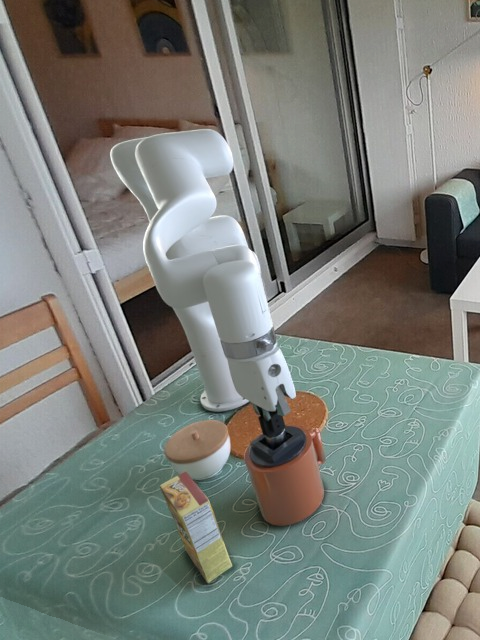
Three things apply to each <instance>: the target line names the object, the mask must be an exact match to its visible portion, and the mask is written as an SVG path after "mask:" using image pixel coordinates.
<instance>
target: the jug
mask: <svg viewBox="0 0 480 640" xmlns="http://www.w3.org/2000/svg"><path fill="white" fill-rule="evenodd" d="M284 429H285V433H286V436H287V441H286V442H285V443H283V444H282V445H281V446H279V447H278V448H277V449H275V450H274V451H273V450H272V449H270V448H268V446H267V442H266V439H265V436H264V435H263V433H260V434H259V435H258V436H256V437H255V438H254V439H253V440H252V441H250V443H249V444H248V445H247V447H246V449H245V451H244V455H243V461H244V465H245V467H246V470H247V473H248V477H249V480H250V482H251V486H252V489H253V492H254V495H255V499H256V502H257V505H258V508H259V511H260V513H261V517H262V518H263V519H264V521H266V523H269V524H270V525H273V526H278V527H285V526H286V527H287V526H291V525H294V524H298V523H300V522H302V521H304V520H305V519H307V518H308V517H310V516H311V515H312V514H314V513H315V512H316V511H317V510H318V509H319V507H320V505H322V502H323V500H324V496H325V488H324V483H323V478H322V475H321V471H320V466H322V465H323V464H325V463H326V461H327V459H326V454H325V449H324V445H323V440H322V435H321V432H320V431H321V430H320V429H319V428H318V427H313V428H311V430H310V431H309V430H308V429H307V428H305V427H303V426H301V425H297V424H285V428H284Z"/></svg>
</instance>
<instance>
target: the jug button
mask: <svg viewBox="0 0 480 640" xmlns="http://www.w3.org/2000/svg"><path fill="white" fill-rule="evenodd" d="M264 436H265V435H264ZM265 439H266V442H267V446H268V448H270V449H272V450H273V451H274V450H275V449H277V448H278V447H279V446H281V445H282V444H283V443H285V442H286V441H287V436H286V433H285V429H283V430H281V431H280V432H279V433H277V434H276V435H274V436H273V437H272V438H268V437H267V436H265Z"/></svg>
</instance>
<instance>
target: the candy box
mask: <svg viewBox="0 0 480 640" xmlns="http://www.w3.org/2000/svg"><path fill="white" fill-rule="evenodd" d="M159 489H160V491H161V493H162V496H163V498H164V501H165V503H166V505H167V508H168V511H169V513H170V515H171V519H172V520H173V522H174V525H175V527H176V530H177V532H178V534H179V537H180V539H181V542H182V544H183V546H184V549H185V552H186V553H187V554H188V556H189V558H190V559H191V561H192V562H193V564H194V566H195V567H196V568H197V570H198V571H199V573H200V574H201V576H202V577H203V578H204V580H205V582H206V583H207V584H210V583H212V582H213V581H214V580H215V579H217V578H218V577H219V576H220V575H222V574H223V573H225V572H226V571H228V570H230V569H231V568H232V567H233V564H232V561H231V558H230V555H229V552H228V550H227V547H226V544H225V541H224V538H223V534H222V532H221V530H220V527H219V524H218V521H217V518H216V516H215V512H214V510H213V507H212V504H211V502H210V500H209V498H208V497H207V495H206V494H205V493H204V492H203V490H202V489H201V488H200V487H199V486H198V484H197V483H196V482H195V480H194V479H192V478H191V477H190V475H189V474H188V473H187V471H185V472H183V473H182V474H180V475H179V474H177V475H176V476H174V477H172V478H171V479H168V480H167V481H164V482H163V483H161V484H159Z"/></svg>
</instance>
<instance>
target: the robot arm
mask: <svg viewBox="0 0 480 640" xmlns="http://www.w3.org/2000/svg"><path fill="white" fill-rule="evenodd" d="M109 155H110V156H109V157H110V161H111V165H112V166H113V168H114V171H115V172H116V174H117V176H118V178H120V181H122V183H123V184H124V185H125V187H126V188H127V189H128V190H129V191H130V193H132V195H133V196H134V197H135V198H136V199H137V200H138V201H139V203H140V205H141V206H142V207H143V210H144V212H145V214H146V216H147V219H148V222H149V223H148V225H147V227H146V231H145V233H144V236H143V240H142V241H143V243H142V251H143V256H144V260H145V262H146V266H147V268H148V271H149V273H150V276H151V279H152V280H153V283H154V286H155V288H156V290H157V292H158V294H159V296H160V298H161V299H162V300H163V302H164V303H165V304H166V305H168V307H171V308H172V309H173V312H174V313H175V315H176V317H177V318H178V320H179V322H180V324H181V326H182V329H183V331H184V333H185V336H186V338H187V342H188V345H189V347H190V351H191V353H192V356H193V358H194V359H193V360H194V362H195V365H196V367H197V371H198V373H199V377H200V379H201V383H202V385H203V388H204V390H203V391H202V393H201V394H200V399H199V401H200V403H201V406H202V408H203V409H204V410H207V411H210V412H217V413H218V412H228V411H232V410H234V409H237V408H240V407H242V406H244V405H246V404H247V403H249V402H250V403H251V405H252V409H253V410H254V413H255V414H256V416H258V417H257V418H258V422H259V426H260V430H261V432H262V433H263V435H265V436H267V437H268V438H272V437H273V436H274V435H276V434H277V433H279V432H280V431H281V430H283V429H284V428H285V425H286V424H285V420H284V417H286V416H287V415H288V414H289V413H291V409H290V406H289V403H288V401H287V398H288V399H290V400H293V399H295V398H297V397H296V396H297V392H296V388H295V384H294V381H293V377H292V375H291V372H290V369H289V366H288V363H287V362H286V359H285V356H284V354H283V352H282V350H281V348H280V347H279V346H278V339H277V335H276V331H275V327H274V323H273V322H274V321H273V319H272V315H271V311H270V306H269V302H268V298H267V294H266V290H265V287H264V283H263V278H262V275H261V274H262V269H261V264H260V260H259V257H258V255H257V254H256V252H254V251H253V250H252V249H250V248H249V244H248V241H247V239H246V236H245V233H244V231H243V229H242V227H241V225H240V223H239V222H238V220H236V219H235V218H234V217H233V216H230V215H226V214H224V215H216V216H213V215H214V213H215V212H216V210H217V203H218V201H217V198H216V196H215V193H214V192H213V189H212V188H211V186H210V184H209V183H208V181H207V179H210V178H216V177H222V176H227V175H230V174H231V173H232V171H233V169H234V157H233V153H232V149H231V148H230V145H229V144H228V141H226V139H225V138H224V137H223V135H222V134H221V133H220V132H217V131H216V130H215V129H211V128H202V129H192V130H183V131H172V132H165V133H159V134H158V133H157V134H153V135H150V136H147V137H139V138H133V139H129V140H125V141H122V142H119V143H117V144H115V145H114V146H112V148H111V149H110V152H109ZM262 433H261V434H262Z"/></svg>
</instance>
